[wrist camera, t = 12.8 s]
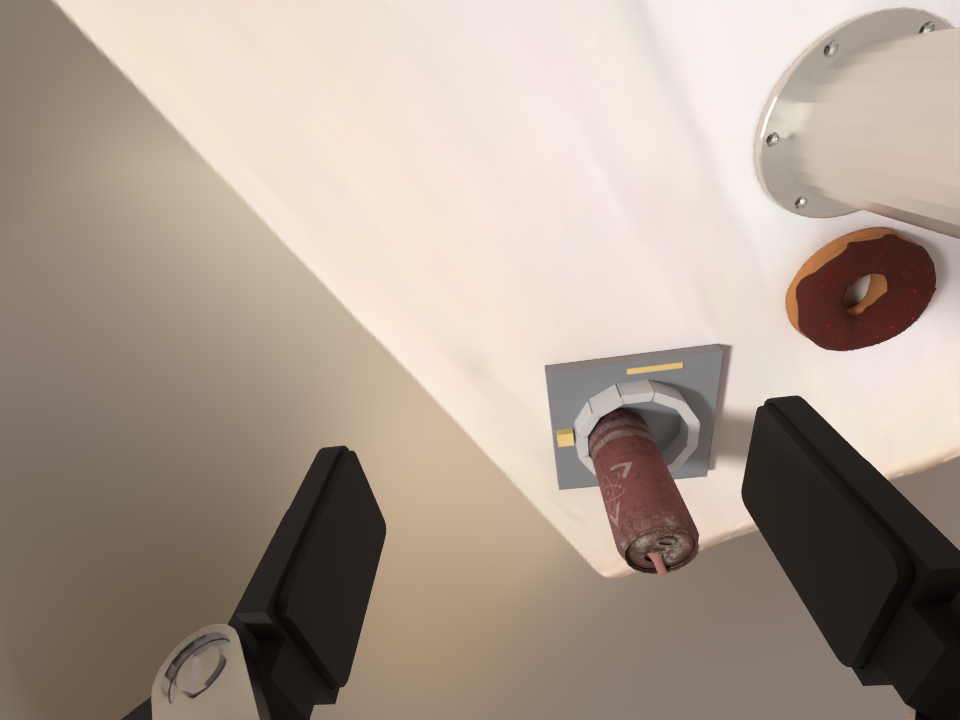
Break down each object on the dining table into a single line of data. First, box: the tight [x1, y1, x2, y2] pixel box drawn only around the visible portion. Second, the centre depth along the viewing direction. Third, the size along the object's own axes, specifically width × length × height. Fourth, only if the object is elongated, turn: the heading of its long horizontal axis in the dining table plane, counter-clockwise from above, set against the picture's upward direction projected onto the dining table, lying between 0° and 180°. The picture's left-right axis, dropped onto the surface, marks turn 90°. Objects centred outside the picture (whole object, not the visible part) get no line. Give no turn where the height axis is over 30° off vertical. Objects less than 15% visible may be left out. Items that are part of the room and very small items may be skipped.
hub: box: [545, 344, 723, 490], centre depth 44 cm, size 16×16×3 cm
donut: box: [786, 228, 937, 352], centre depth 35 cm, size 10×10×4 cm
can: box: [588, 409, 699, 575], centre depth 38 cm, size 6×6×14 cm
